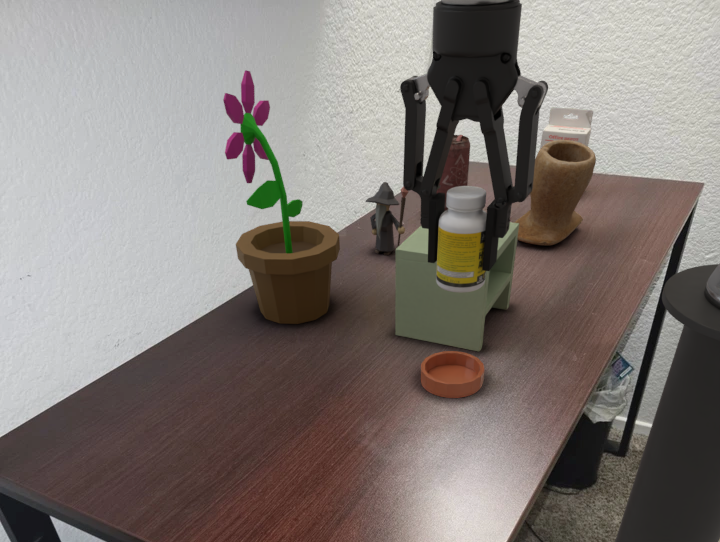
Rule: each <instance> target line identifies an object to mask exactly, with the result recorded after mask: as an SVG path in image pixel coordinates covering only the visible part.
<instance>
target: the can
mask: <svg viewBox="0 0 720 542" xmlns="http://www.w3.org/2000/svg"><path fill="white" fill-rule="evenodd" d="M470 154H471V142H470V138H469V137H468V136H466V135H463V134H454V137H453V140H452V143H451V147H450V150H449V153H448V157H447V160H446V164H445V167H444V170H443V174H442V177H441V180H440V184H439V186H440V188H439V189H438V190H437V193H438V192H439V193H445V211H446V210H448V208H447V207H446V198H447V191H448V190H449V189H451V188H454V187H458V186H469V185H468V184H469V183H468V182H469V171H470V156H471V155H470ZM445 211H444V212H445Z"/></svg>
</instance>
